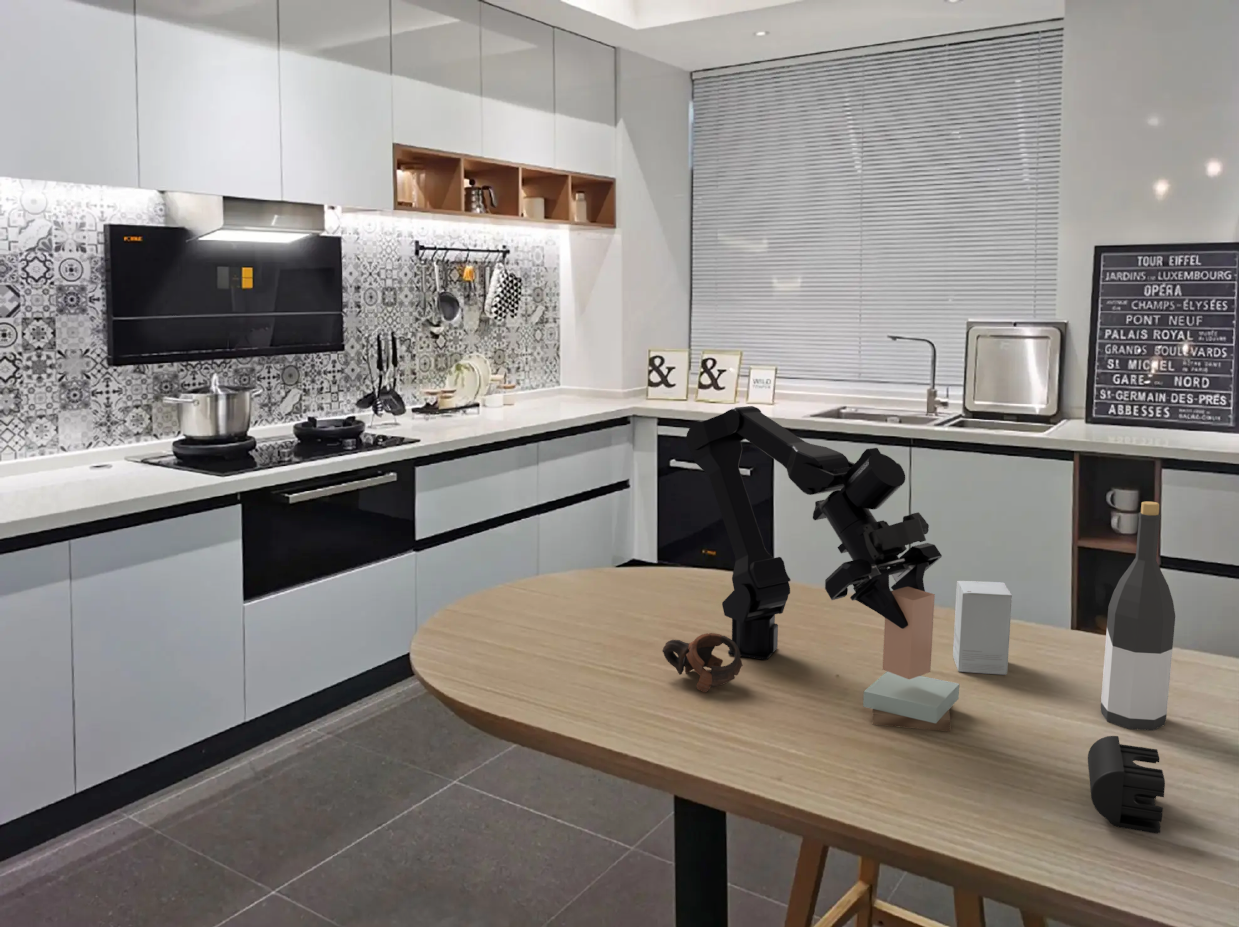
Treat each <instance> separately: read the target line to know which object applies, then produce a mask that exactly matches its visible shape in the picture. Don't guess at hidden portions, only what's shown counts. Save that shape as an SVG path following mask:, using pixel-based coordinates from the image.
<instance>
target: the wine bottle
mask: <svg viewBox="0 0 1239 927" xmlns="http://www.w3.org/2000/svg"><path fill="white" fill-rule="evenodd" d="M1137 515H1138V516H1137V517H1138V524H1137V525H1138V527H1137V536H1136V537H1137V539H1136V548H1135V549H1136V550H1135V552H1136V553H1135V558H1134V559H1133V561H1132V562H1131V564H1130V565H1129V566H1128V567H1127V569H1126V571H1124V573H1123V574H1122V576H1121V577H1120V578H1119V580H1118V582H1117V584H1116V586H1115V588H1114V590H1113V592H1112V594H1111V598H1110V601H1109V604H1108V607H1107V609H1108V610H1107V620H1106V621H1107V623H1106V634H1105V647H1104V658H1103V671H1102V672H1103V673H1102V684H1101V686H1102V687H1101V698H1100V713H1101V715H1102V717H1104V719H1105V720H1106V722H1108V723H1110V724H1114V725H1116V726H1119V727H1122V728H1124V729H1128V730H1137V729H1138V730H1141V731H1154V730H1157V729H1158V728H1159V729H1160V728H1161V727H1164V726H1165V725H1166V720H1167V716H1168V715H1167V713H1168V704H1169V703H1168V702H1169V691H1170V680H1171V669H1172V659H1173V646H1174V635H1175V626H1176V625H1175V624H1176V611H1175V605H1174V600H1173V596H1172V593H1171V590H1170V587H1169V584H1168V582H1167V580H1166V578H1165V576H1164V574H1163V572H1162V569H1161V568H1160V565H1159V564H1158V561H1157V554H1158V553H1157V552H1158V544H1159V543H1158V542H1159V532H1160V520H1161V518H1162V514H1161V513H1160V503H1159V502H1155V501H1145V500H1144V501H1142V502H1141V507H1140V512H1138V514H1137ZM1163 725H1164V726H1163Z"/></svg>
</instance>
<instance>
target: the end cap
mask: <svg viewBox="0 0 1239 927" xmlns="http://www.w3.org/2000/svg"><path fill="white" fill-rule="evenodd" d="M1134 761H1136V762H1143V763H1150V764H1157V763H1160V756H1159V751H1158V749H1156V748H1151V747H1143V746H1136V745H1135V746H1134V745H1128V744H1122V743H1121V744H1120V738H1119V736H1118V735H1109V736H1105V737H1102V738H1101V737H1100V738H1099V739H1097V740H1096V741H1095V742H1093V744H1092V745H1091V747H1090V748H1089V750H1088V754H1087V766H1088V768H1087V769H1088V777H1089V787H1090V788H1089V789H1090V797H1091V798H1090V799H1091V801H1092V805H1093V806H1094V808H1095V810H1096V811H1097V813H1098V814H1099V815H1101V816H1102V817H1103V818H1104V819H1105V820H1107V822H1109V823H1110V824H1112V826H1115V827H1117V828H1122V829H1126V830H1133V831H1137V832H1138V831H1140V832H1146V833H1152V834H1160V833H1161V822H1162V820H1163V812H1164V811H1163V810H1164V808H1163V806H1159V805H1156V799H1157V797H1159V798H1165V789H1166V780H1165V775H1164V771H1163V769H1160V768H1154V767H1146V766H1141V765H1139V764H1137V763H1135V762H1134Z"/></svg>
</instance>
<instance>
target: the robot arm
mask: <svg viewBox="0 0 1239 927" xmlns="http://www.w3.org/2000/svg"><path fill="white" fill-rule="evenodd" d="M685 439H686V445H687V448H688V450H689V452H690V453H691V456H692V459H693V461H694V463H695V464H696V465H697V466H698V467H699V468H700V469H701V470H702V471H703V472H704V473H706V475H707V476H708V477H709V481H710V484H711V485H712V489H713V492H714V496H715V498H716V502H717V505H718V508H719V512H720V514H721V517H722V520H723V523H724V527H725V530H726V533H727V536H728V539H729V542H730V545H731V548H732V553H733V556H734V558H735V562H734V567H733V571H732V574H731V575H732V576H731V581H732V582H731V583H732V586H733V590H732V592H730V593H729V595H728V596H727V597H726V598H724V600H723V601H722V602H721V603H722V610H723V614H724V615H723V616H725V617H727V618H730V619H731V621H732V622H731V640H732V641H734V642H735V643H736V645H737V646H738V648H739V651H740V657H743V658H751V659H758V660H765V661H766V660H768V659H769V658H770V657H771V656H772V655H773V653H775V651H776V650H778V647H779V646H778V642H779V640H778V638H779V637H778V636H779V625H778V623H776V620H775V619H776V615H778V614H779V615H781V614H784V610H785V608H786V605H787V604H786V603H787V601H788V599H789V595H791V586H790V583H789V582H791V578H790V576H789V575H788V573H787V570H786V566H785V561H784V559H783V558H782V557H781V556H778V557H773V556H772V555H771V554H770V553H769V552H768V551H767V549H766V548H765V544H764V540H763V537H762V535H761V531H760V528H759V527H758V526H759V525H758V523H757V519H756V517H755V514H754V510H753V507H752V505H751V501H750V498H749V495H748V492H747V490H746V486H745V483H744V480H743V476H742V474H741V470H740V467H739V465H740V462H741V456H742V452H743V446H742V442H744V441H745V440H746V441H748V442H749V443H750V444H752V445H753V446H755V447H756V448H757V449H759V450H760V451H761V452H764V453H765V454H766V455H767V456H769V457H770V458H772V459H774V461H776V462H778V463H779V464H781V465H782V466H783V467H784V468H785V469H786V472H787V476H788V478H789V479H790V481H791V482H792V483H794V485H795V486H796V487H797V488H799V490H800V491H801V492H802V493H804V494H806V495H808V496H812V495H818V494H827V493H830V492H831V493H830V494H828V496H827V497H826V498H824V499H819V500H816V501H815V504H814V506H815V507H814V509H813V512H812V519H813V521H818V520H819V521H820V520H823V519H824V520H825V519H827V521H828V523H829V524H830V526H831V527H832V530H833V531H834V532H835V534H836V536H837V537H838V538H839V541H840V542H841V543H840V544H839V546H837V550H838V551H839V553H840V554H844V553H847V554H848V555H849V557H850V558H851V560H849V561H845V562H842V564H840V566H838V567H837V568H836V569H835V570H834V571H833V572H832V573H831V574H829V576H827V577H826V579H825V581H824V590H825V591H826V592H827V595H828V596H829V598H830V600H831V601H835V600H838V599H843V598H846V596H848V591H849V588H848V587H850V586H852V587H853V590H854V593H853V594H852V595H851V596H850V597H849V599H850V600H851V601H853V602H854V601H857V602H858V603H860V604H862V605H864V606H865V607H867V608H869V609H870V610H872V611H874V612H876V613H877V614H878V615H880V616H882V617H884V619H885V618H886V619H888V620H889V621H891V622H892V623H894V624H895V625H897V626H898V627H900V628H902V629H904V628H905V627H907V626H908V622H907V620H906V618H905V616H904V614H903V612H902V610H901V608H900V606H899V605H898V603H897V601H896V599H895V597H894V596H893V594H892V592H891V591H893V590H896V589H900V588H904V587H911V588H915V589H918V590H921V591H925V592H926V589H925V585H924V576H925V572H926V571H927V570H928V569H929V568H931V567H932V566H933V565H935V563H936V562H938V561H939V560H940V559H941V558H942V557H943V555H942V554H941V552H940V551H939V549H938V548H937V546H936V545H935V544H933V543H929V542H926V541H927V539H926V535H927V534H928V533H929V529H930V528H929V527H930V525H929V524H928V522H927V520H926V519H925V518H924V517H923V515H922V514H921V513H920V512H914V513H910V514H907V515H904V516H903V517H902V521H901V522H896V523H894V524H890V525H889V523H888V521H885V520H884V519H883V520H879V521H877V519H876V518H875V516H874V515H873V513H872V512H871V510H877V509H880V507H881V506H882V505H883V504H884V503H886V502H887V501H888V500H889V499H890V498H891V497H892V496H893V495H894V494H895V493H896V492H897V491H898V490H899V489H900V488H901V487H902V486H903V485H904V483H905V482H906V473H905V471H904V468H903V466H902V465H901V464H900V463H897V462H896V461H895V460H894V459H893V458H891V457H890V456H888V455H887V454H883V453H881V451H880V450H879V448H878V447H871V448H866V449H865V450H864V451H863V452H862V454H861V455H860V457H859V458H858V460H856V462H853V461H849V459H848V458H847V456H846V455H845V454H844V453H842V452H840V451H837V450H835V449H832V448H830V447H827V446H822V445H818V444H814V443H809V442H807V441H805V440H803V439H802V438H801V437H798V435H795V434H794V433H793V432H791V431H789V429H787V428H785V427H784V426H782V425H781V424H779V423H778V422H776V421H774V420H773V419H772V418H770V417H768V416H767V415H766V414H764V413H762V411H761V409H759V408H758V407H755V406H753V405H749V406H736V407H732V408H731V409H728V410H726V411H725V412H723V413H721V414H717V415H716V416H714V417H711V418H708V419H706V420H705V419H704V420H696V421H694V422H692V424H690V426H689V428H688V430H687V432H686V435H685ZM917 542H918V543H921V544H917V545H913V546H911V547H910V548H909V549H908V548H907V547H906V546H908V545H909V546H910V545H912V544H914V543H917ZM922 542H925V543H922ZM907 549H908V550H907ZM900 554H902V555H901V556H900V557H899V555H900ZM890 576H891V577H892V578H893V580H894V582H895V583H893V585H892V586H891V587H890ZM891 589H892V590H891ZM727 654H728V655H731V656H734V653H733V651H731V650H730V649H728V650H727Z"/></svg>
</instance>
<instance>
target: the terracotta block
mask: <svg viewBox="0 0 1239 927" xmlns="http://www.w3.org/2000/svg"><path fill="white" fill-rule="evenodd" d="M891 592H892V594H893V596H894V597H895V599H896V601H897V603H898V605H899V606H900V608H901V610H902V612H903V614H904V616H905V618H906V620H907V622H908V626H907V627H905V628H904V629H902V628H900V627H898V626H897V625H895V624H894V623H892V622H891V621H889V620H888V619H886V618H885V617H884V629H883V630H884V632H883V649H882V650H883V654H882V670H883V671H885V672H887V671H888V672H891V673H893V674H896V675H899V676H901V677H904V678H907V679H912V678H915V677H918V676H924V675H925V674H929V673H931V669H932V668H931V667H932V653H933V652H932V651H933V650H932V649H933V648H932V647H933V633H934V632H933V631H934V618H935V617H934V616H935V615H934V613H935V600H936V599H935V597H936V594H934V593H932V592H927V591H926V590H925V591H921V590H918V589H915V588H911V587H904V588H900V589H896V590H891Z"/></svg>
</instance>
